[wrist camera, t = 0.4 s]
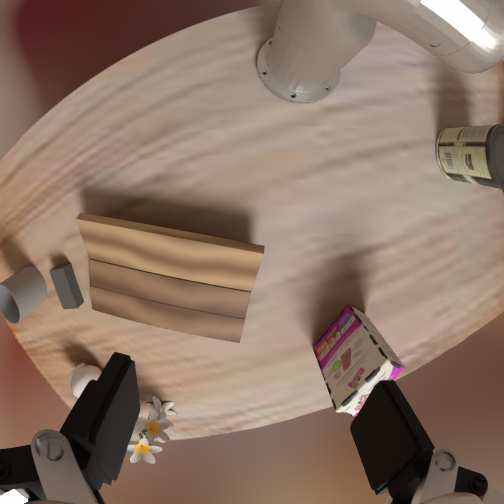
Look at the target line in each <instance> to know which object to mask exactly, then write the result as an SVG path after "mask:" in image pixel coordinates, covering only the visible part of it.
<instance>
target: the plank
mask: <svg viewBox="0 0 504 504" xmlns="http://www.w3.org/2000/svg"><path fill="white" fill-rule="evenodd" d="M76 220H77V224H78V227H79V230H80V233H81V236H82V239H83V242H84V244H85V247H86V250H87V253H88V255H89V258H91V259H95V260H99V261H103V262H108V263H112V264H116V265H121V266H125V267H129V268H134V269H138V270H143V271H148V272H152V273H157V274H162V275H167V276H171V277H176V278H181V279H186V280H191V281H196V282H202V283H207V284H212V285H217V286H223V287H228V288H234V289H240V290H245V291H252V288H253V285H254V282H255V279H256V276H257V273H258V270H259V267H260V264H261V261H262V258H263V255H264V246H262V245H256V244H251V243H246V242H241V241H235V240H230V239H225V238H219V237H214V236H208V235H203V234H198V233H192V232H187V231H181V230H176V229H170V228H165V227H159V226H154V225H148V224H143V223H137V222H131V221H126V220H120V219H115V218H109V217H103V216H98V215H92V214H86V213H80V214H79V215H78V217H77V218H76Z"/></svg>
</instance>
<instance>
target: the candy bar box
mask: <svg viewBox="0 0 504 504" xmlns="http://www.w3.org/2000/svg"><path fill="white" fill-rule="evenodd" d="M313 350H314V353H315V356H316V358H317V361H318V364H319V367H320V369H321V372H322V375H323V377H324V380H325V383H326V386H327V389H328V392H329V394H330V397H331V400H332V403H333V405H334V408H335V411H336V412H340V413H344V414H348V415H351V416H357V414H358V412H359V411H360V409H361V408H362V406H363V404H364V403H365V401H366V399H367V398H368V396H369V394H370V392H371V391H372V389H373V387H374V386H375V384H377V383H378V382H379V381H380V380H394V379H395V378H396V377H397V376H398V375H399V374H400V373H401V372H402V371H403V370H404V369H405V367H404V365H403V364H402V362H401V361H400V360H399V358H398V357H397V356H396V354H395V353H394V352H393V350H392V349H391V348H390V346H389V345H388V343H387V342H386V341H385V340H384V338H383V337H382V335H381V334H380V333H379V332H378V330H377V329H376V327H375V326H374V325H373V324H372V322H371V321H370V320H369V318H368V317H367V316H366V315H365V314H364V313H362V312H361V311H359V310H357V309H356V308H354V307H353V306H351V305H349V304H348V305H347V307H346V308H345V309H344V310H343V312H342V313H341V314H340V316H339V317H338V318H337V320H336V321H335V322H334V323H333V325H332V326H331V327H330V328H329V330H328V331H327V332H326V333H325V334H324V336H323V337H322V338H321V339H320V340H319V342H318V343H317V344H316V345H315V346H314V347H313Z"/></svg>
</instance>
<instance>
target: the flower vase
mask: <svg viewBox="0 0 504 504" xmlns="http://www.w3.org/2000/svg"><path fill="white" fill-rule="evenodd" d="M101 373H102V372H101V370H100V369H99V368H98V367H97V366H93V365H88V366H87V365H86V364H85V363H81V364H79V365H78V366H77V367H76V368H75V369H74V370H73V371H72V372H71V374H70V376H69V379H68V380H69V382H70V383H71V390H72V393H73V395H74V396H75V397H77V398H79V397H80V395H81V393H82V392H83V390H84V388H85V387H86V385H87V383H88V382H89V381H90V380H92V379H94V380H97V379H98V378H99V376H100V374H101ZM152 401H153V403H154V405H153V404H151V403H146V405H147V406H148V407H149V408H151V410H150V413H149V417H148V420H147V419H146V418H143V417H140V418H138V419H137V422H136V424H135V427H134V430H133V432H134V434H135V436H138V435H139V437H140V441H139V442H134V441H130V442H129V445H128V448H127V450H128V452H127V454H128V455H129V456H131V458H130V461H131V462H132V463H135V462H137V461H139V460H140V459H141V457H142V458H143V459H144V460H145V461H147V462H149V463H155V459H154V457H153V455H152V454H151V453H158V452H160V451H162V448H161V447H157V446H153V445H154V441H155V439H157V440H158V441H159V442H162V443H165V441H166V442H169V441H170V439H169V436H168V435H167V434H166V433H165V432H163V430H164V429H167V428H171V429H172V430H174V429H173V428H172V427H174V425H173V424H172V423H171V422H170V421H169V420H167V419H166V415H176V413H175V412H174V411H171V410H169V409H170V408H171V407H172V406H173V405H174V403H173V402H165V403H164V404H163V405H162V406H161V402H160V400H159V399H158V398H157V397H156V396H152ZM157 414H158V416H157ZM174 431H175V430H174ZM141 433H143V434H144V435H145V436H146V438H143V436H142V434H141ZM150 452H151V453H150Z"/></svg>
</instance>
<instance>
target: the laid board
mask: <svg viewBox="0 0 504 504" xmlns="http://www.w3.org/2000/svg"><path fill="white" fill-rule="evenodd" d="M90 286H91V301H92V309H93V310H96V311H100V312H103V313H106V314H110V315H113V316H117V317H121V318H124V319H128V320H132V321H136V322H140V323H144V324H148V325H152V326H156V327H160V328H165V329H169V330H174V331H178V332H183V333H188V334H193V335H198V336H203V337H209V338H214V339H220V340H226V341H232V342H238V343H240V339H241V334H242V330H243V326H244V321H245V317H246V312H247V308H248V304H249V299H250V295H251V291H245V290H240V289H234V288H228V287H223V286H217V285H212V284H207V283H202V282H196V281H191V280H186V279H181V278H176V277H171V276H167V275H162V274H157V273H152V272H148V271H143V270H138V269H134V268H129V267H125V266H121V265H116V264H112V263H108V262H103V261H99V260H95V259H90Z"/></svg>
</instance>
